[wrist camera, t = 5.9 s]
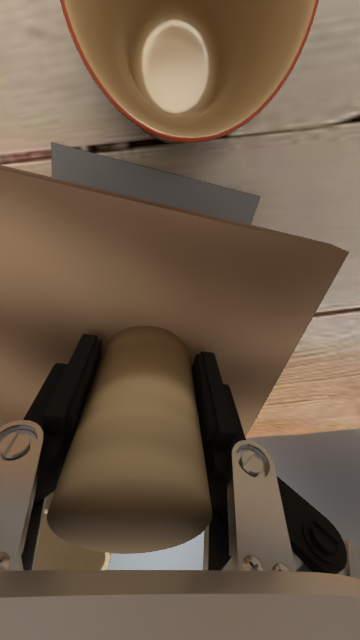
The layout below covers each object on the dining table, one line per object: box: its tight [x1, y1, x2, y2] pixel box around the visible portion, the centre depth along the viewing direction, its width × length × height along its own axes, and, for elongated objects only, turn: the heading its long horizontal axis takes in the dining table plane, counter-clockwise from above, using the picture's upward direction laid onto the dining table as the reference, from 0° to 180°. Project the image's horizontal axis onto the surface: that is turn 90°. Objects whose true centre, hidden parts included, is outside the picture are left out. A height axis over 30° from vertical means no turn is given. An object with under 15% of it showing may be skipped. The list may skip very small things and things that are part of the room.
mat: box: [51, 142, 260, 225], centre depth 23 cm, size 16×16×1 cm
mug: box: [60, 0, 319, 144], centre depth 12 cm, size 12×9×10 cm
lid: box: [0, 165, 349, 554], centre depth 9 cm, size 13×13×7 cm
